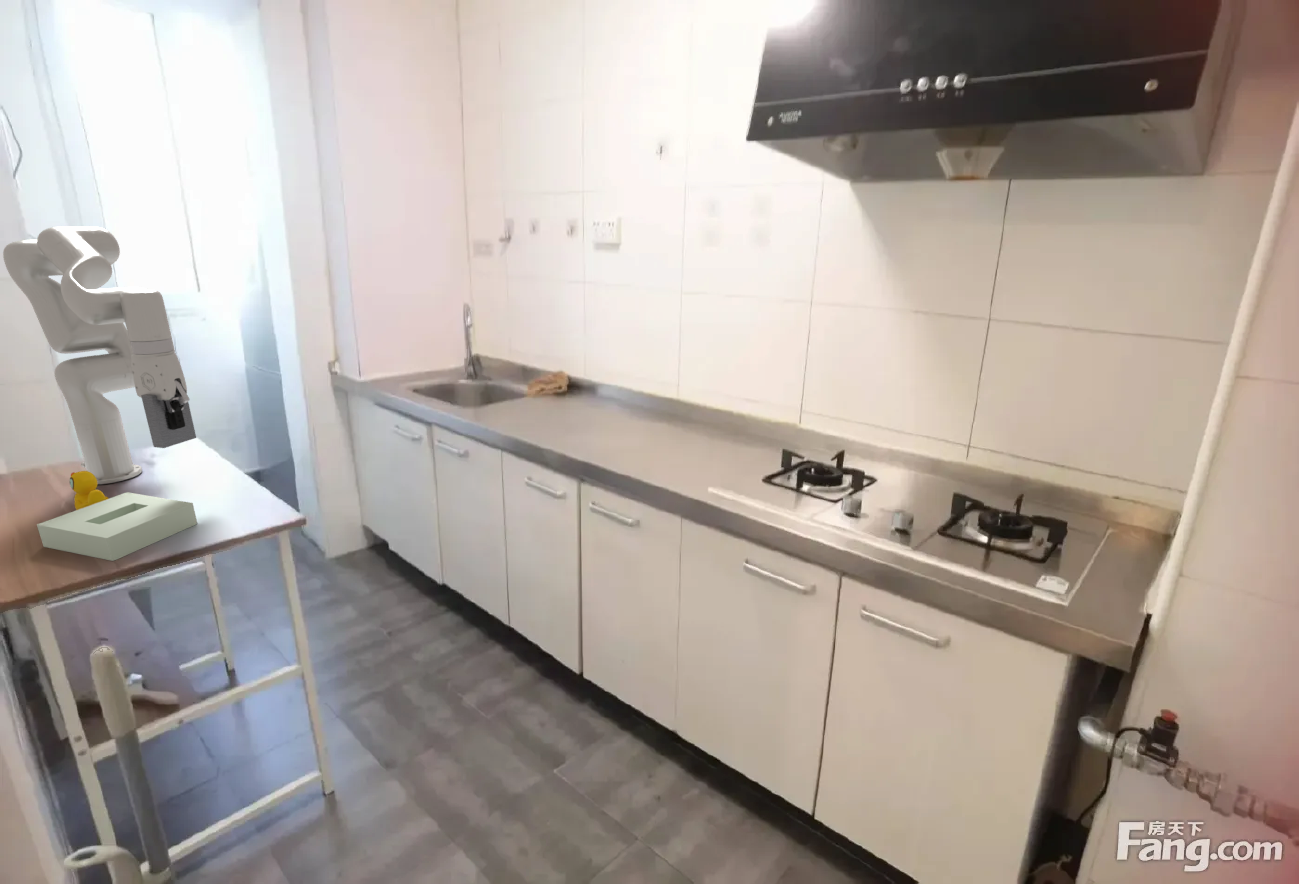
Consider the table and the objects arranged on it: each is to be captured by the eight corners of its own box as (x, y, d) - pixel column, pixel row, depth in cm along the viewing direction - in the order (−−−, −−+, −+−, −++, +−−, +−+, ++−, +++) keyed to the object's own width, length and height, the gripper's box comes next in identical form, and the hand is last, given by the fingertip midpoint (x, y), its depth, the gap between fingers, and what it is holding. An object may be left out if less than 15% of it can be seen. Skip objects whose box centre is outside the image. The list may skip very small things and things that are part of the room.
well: (43, 546, 136) (36, 524, 134) (132, 512, 152) (126, 492, 151) (113, 560, 130) (106, 538, 129) (197, 523, 146) (192, 503, 145)
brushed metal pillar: (153, 447, 149) (140, 395, 145) (186, 436, 156) (175, 387, 152) (163, 448, 148) (151, 396, 144) (196, 437, 155) (185, 388, 151)
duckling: (68, 511, 152) (56, 471, 149) (96, 503, 157) (84, 464, 154) (90, 522, 147) (78, 480, 144) (118, 514, 151) (107, 473, 148)
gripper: (108, 348, 144) (128, 429, 150) (164, 352, 139) (184, 435, 145) (142, 343, 151) (160, 420, 156) (197, 346, 146) (214, 425, 152)
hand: (171, 426), depth 151 cm, fingers closed on brushed metal pillar, 3 cm apart
